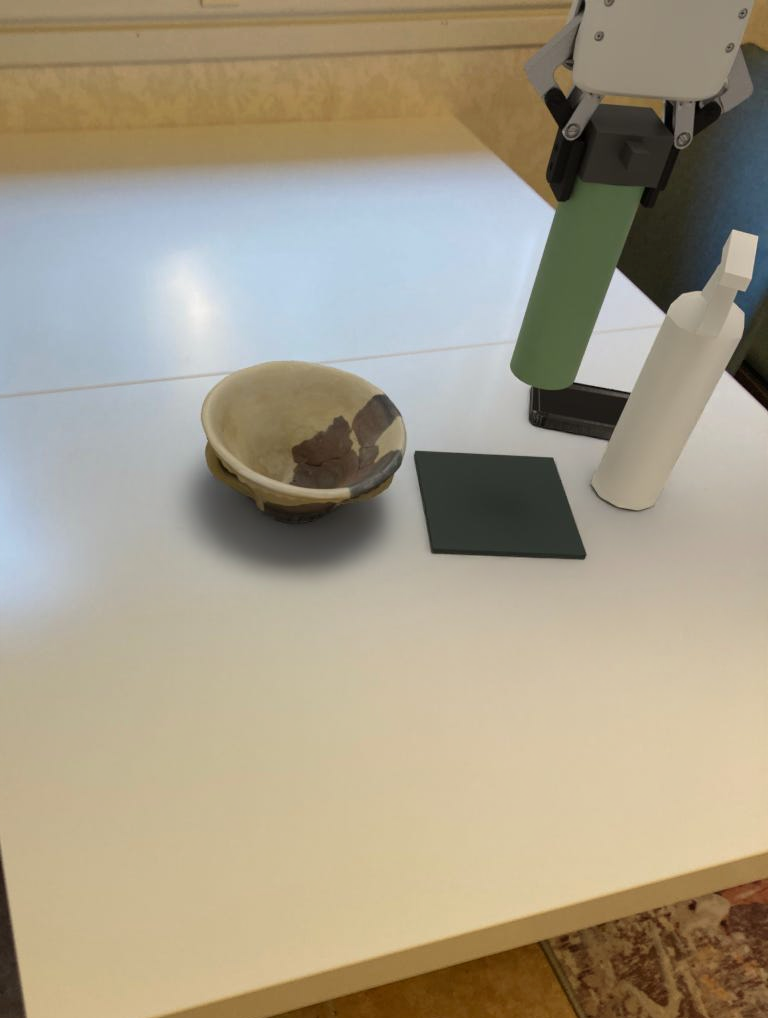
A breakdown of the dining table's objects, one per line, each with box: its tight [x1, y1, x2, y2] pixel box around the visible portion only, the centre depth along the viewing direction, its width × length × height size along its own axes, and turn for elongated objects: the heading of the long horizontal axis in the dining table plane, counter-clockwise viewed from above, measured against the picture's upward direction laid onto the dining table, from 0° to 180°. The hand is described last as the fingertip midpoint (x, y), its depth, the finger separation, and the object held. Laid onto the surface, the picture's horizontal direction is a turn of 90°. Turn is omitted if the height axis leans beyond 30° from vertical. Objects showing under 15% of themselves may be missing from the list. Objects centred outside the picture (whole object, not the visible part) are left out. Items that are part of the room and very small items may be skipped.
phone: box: [528, 381, 632, 440], centre depth 98 cm, size 8×1×15 cm
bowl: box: [200, 360, 408, 524], centre depth 82 cm, size 18×18×10 cm
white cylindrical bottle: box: [590, 229, 759, 511], centre depth 82 cm, size 7×12×25 cm, turn 157°
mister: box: [509, 103, 675, 390], centre depth 68 cm, size 7×5×19 cm
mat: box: [413, 450, 587, 560], centre depth 87 cm, size 14×14×1 cm
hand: (600, 194), depth 65 cm, fingers closed on mister, 5 cm apart
